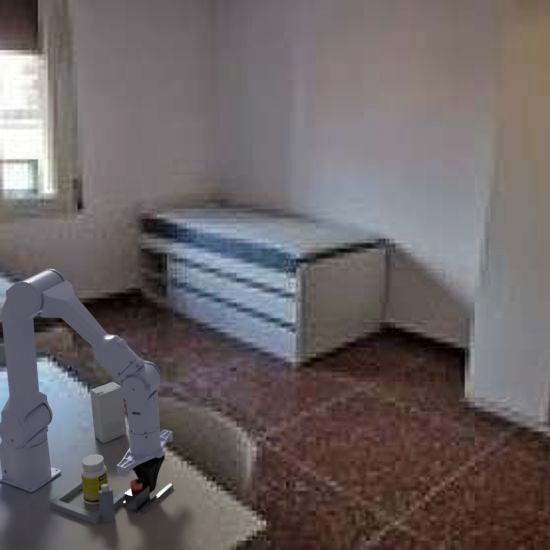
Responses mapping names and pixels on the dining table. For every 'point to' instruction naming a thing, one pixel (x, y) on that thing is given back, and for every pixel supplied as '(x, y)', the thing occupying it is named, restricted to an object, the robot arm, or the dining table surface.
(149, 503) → the track
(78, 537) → the dining table surface
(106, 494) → the press bed
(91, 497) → the supplement bottle
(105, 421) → the skincare box
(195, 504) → the dining table surface
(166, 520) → the dining table surface
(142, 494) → the grey slider block
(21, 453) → the robot arm
